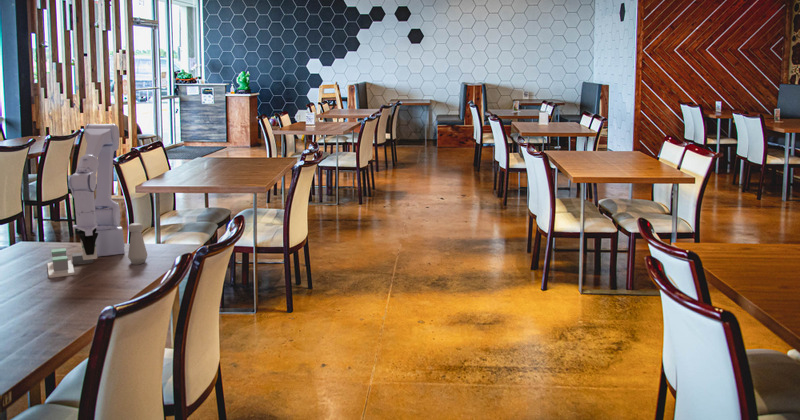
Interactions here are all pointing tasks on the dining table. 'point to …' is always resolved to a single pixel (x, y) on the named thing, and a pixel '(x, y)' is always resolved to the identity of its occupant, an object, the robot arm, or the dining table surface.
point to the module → (87, 257)
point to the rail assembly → (60, 264)
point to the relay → (79, 259)
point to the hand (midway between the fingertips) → (89, 252)
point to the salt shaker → (136, 244)
